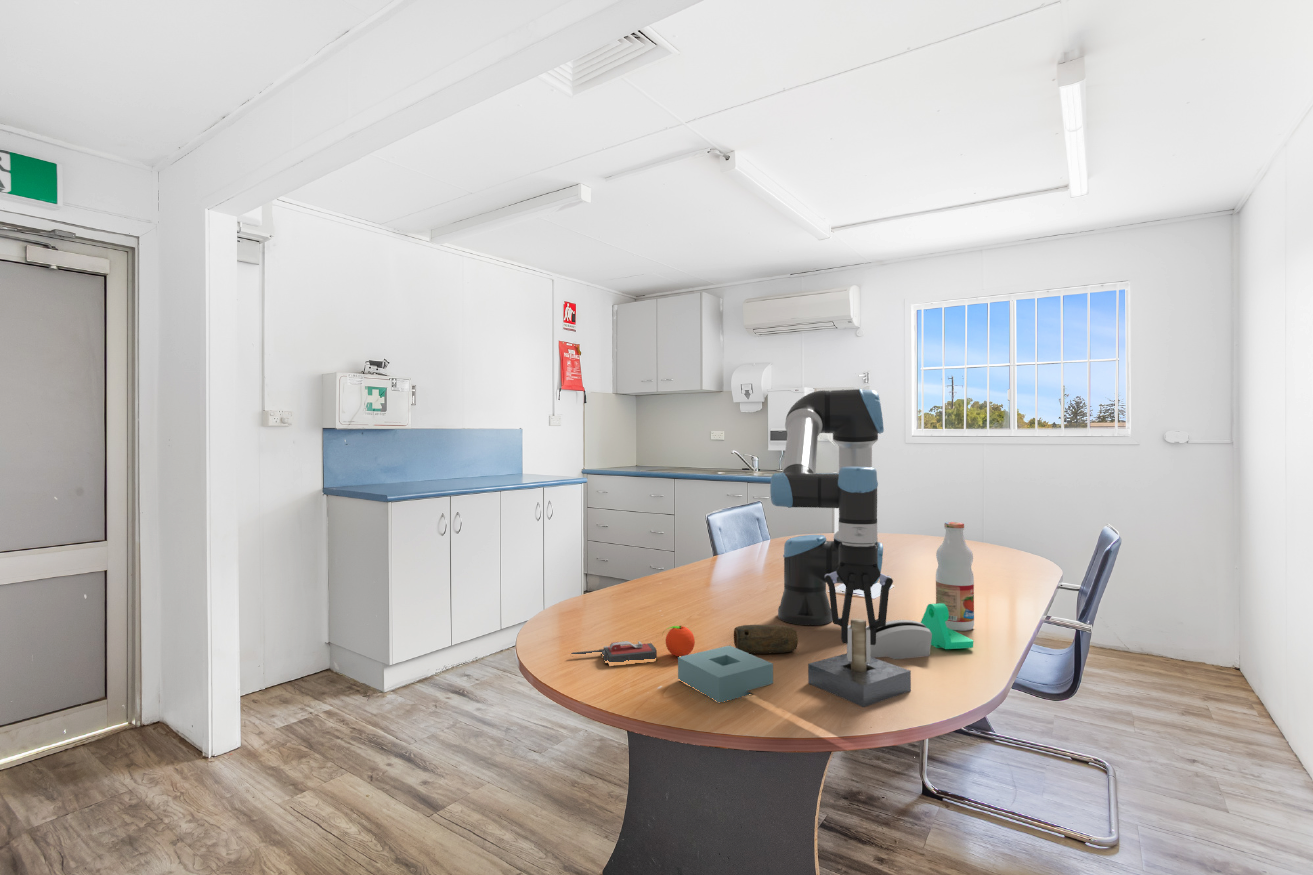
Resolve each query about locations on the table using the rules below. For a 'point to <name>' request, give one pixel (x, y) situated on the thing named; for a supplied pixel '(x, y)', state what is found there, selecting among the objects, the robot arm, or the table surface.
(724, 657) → the socket block
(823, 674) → the mount block
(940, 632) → the camera mount
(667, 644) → the clementine
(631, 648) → the walkie-talkie
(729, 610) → the table surface
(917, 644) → the grey rounded slab
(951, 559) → the fruit juice
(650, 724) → the table surface
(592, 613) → the table surface
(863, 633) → the pin
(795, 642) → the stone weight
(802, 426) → the robot arm
